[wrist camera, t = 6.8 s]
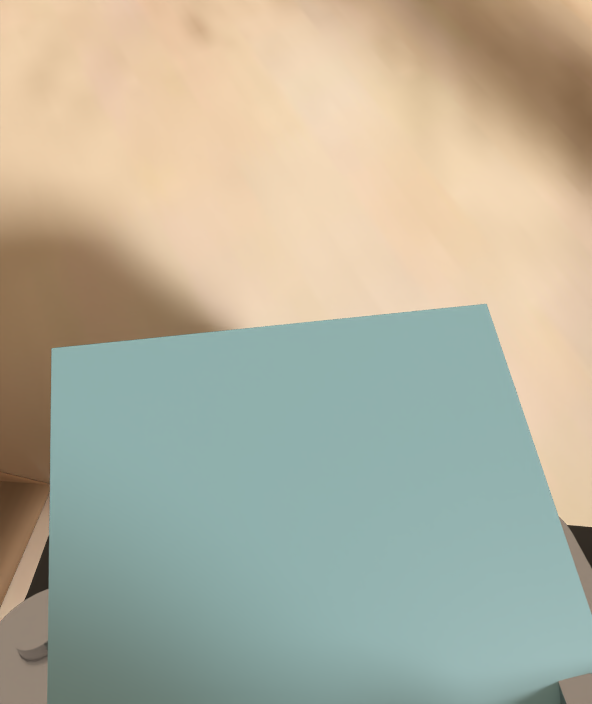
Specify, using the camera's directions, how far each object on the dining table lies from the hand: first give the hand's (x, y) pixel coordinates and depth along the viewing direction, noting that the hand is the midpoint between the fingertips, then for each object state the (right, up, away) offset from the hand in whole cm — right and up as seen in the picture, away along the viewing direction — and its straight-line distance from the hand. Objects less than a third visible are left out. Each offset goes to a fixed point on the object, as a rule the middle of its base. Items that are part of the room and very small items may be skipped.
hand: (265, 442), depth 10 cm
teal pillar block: (0, -3, +4) cm, 5 cm away
